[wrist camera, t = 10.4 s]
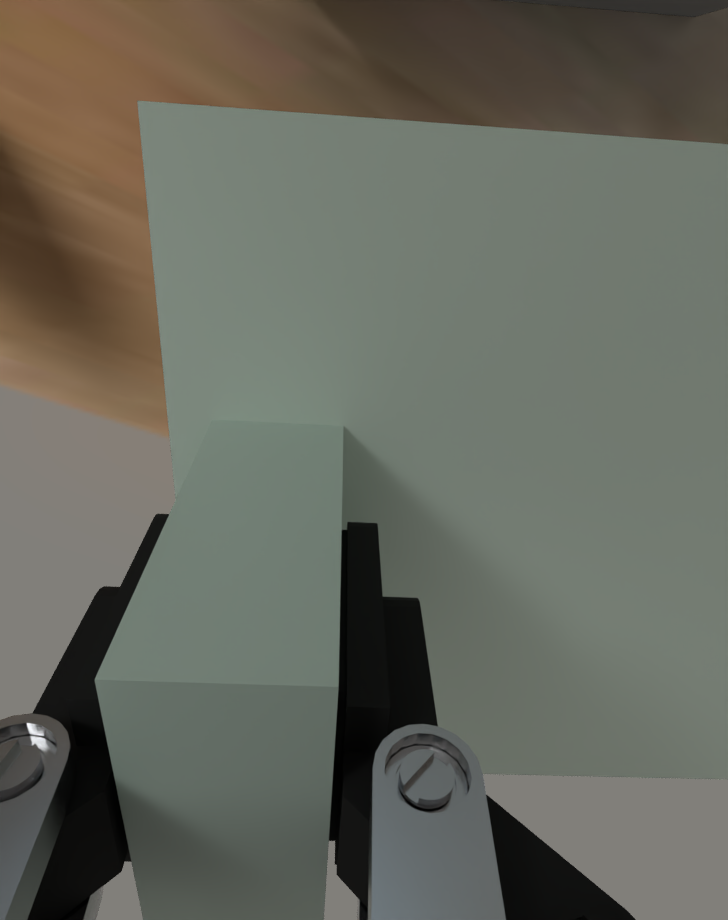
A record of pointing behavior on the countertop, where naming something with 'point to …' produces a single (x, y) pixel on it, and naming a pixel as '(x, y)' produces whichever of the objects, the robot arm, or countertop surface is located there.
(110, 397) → the countertop surface
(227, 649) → the lid
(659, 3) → the tub
